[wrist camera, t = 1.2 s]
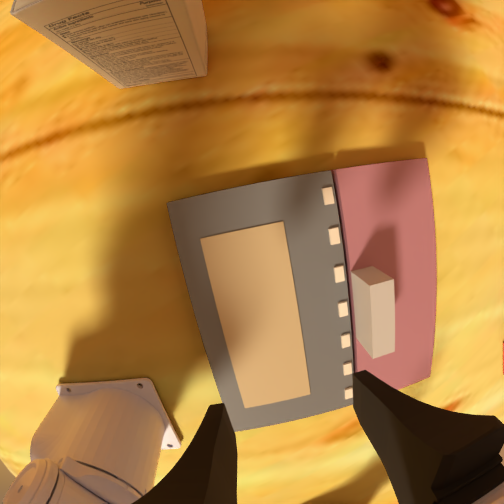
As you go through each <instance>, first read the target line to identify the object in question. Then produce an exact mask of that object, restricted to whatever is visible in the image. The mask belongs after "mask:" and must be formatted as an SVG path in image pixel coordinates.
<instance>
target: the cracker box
mask: <svg viewBox="0 0 504 504" xmlns="http://www.w3.org/2000/svg"><path fill="white" fill-rule="evenodd" d="M503 374H504V342H503Z"/></svg>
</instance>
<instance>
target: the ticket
mask: <svg viewBox="0 0 504 504" xmlns="http://www.w3.org/2000/svg"><path fill="white" fill-rule="evenodd" d="M167 207H168V211H169V216H170V220H171V224H172V229H173V233H174V237H175V241H176V245H177V249H178V253H179V257H180V261H181V265H182V269H183V273H184V277H185V281H186V284H187V288H188V292H189V295H190V299H191V303H192V306H193V310H194V313H195V317H196V320H197V324H198V327H199V330H200V334H201V337H202V341H203V344H204V347H205V350H206V354H207V357H208V360H209V363H210V366H211V369H212V373H213V376H214V379H215V382H216V385H217V388H218V391H219V394H220V397H221V400H222V403H224V404H225V407H226V410H227V412H228V415H229V418H230V421H231V424H232V427H233V429H234V432H236V431H243V430H249V429H254V428H260V427H265V426H270V425H275V424H280V423H285V422H289V421H293V420H298V419H302V418H306V417H310V416H314V415H318V414H322V413H325V412H329V411H332V410H336V409H339V408H343V407H346V406H349V405H353V379H352V374H353V373H354V371H353V350H352V334H351V321H350V308H349V297H348V287H347V277H346V268H345V260H344V251H343V244H342V236H341V229H340V222H339V215H338V209H337V202H336V196H335V190H334V184H333V178H332V173H331V170H330V171H322V172H316V173H310V174H304V175H298V176H292V177H286V178H281V179H275V180H270V181H265V182H260V183H254V184H249V185H244V186H239V187H235V188H230V189H225V190H220V191H216V192H211V193H206V194H202V195H197V196H193V197H189V198H184V199H180V200H176V201H172V202H168V203H167Z"/></svg>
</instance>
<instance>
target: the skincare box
mask: <svg viewBox="0 0 504 504" xmlns="http://www.w3.org/2000/svg"><path fill="white" fill-rule="evenodd" d="M10 13H11V15H13V16H14V17H16V18H17V19H19V20H20V21H22V22H24V23H25V24H27V25H28V26H30V27H31V28H33V29H34V30H36V31H37V32H39V33H40V34H42V35H43V36H45V37H46V38H48V39H49V40H51V41H52V42H54V43H55V44H57V45H58V46H60V47H61V48H63V49H64V50H65V51H67V52H68V53H70V54H71V55H73V56H74V57H76V58H77V59H78V60H80V61H81V62H83V63H84V64H86V65H87V66H88V67H90V68H91V69H93V70H94V71H95V72H97V73H98V74H100V75H101V76H102V77H104V78H105V79H106V80H108V81H109V82H111V83H112V84H113V85H115V86H116V87H117V88H119V89H122V88H128V87H134V86H141V85H147V84H154V83H160V82H166V81H173V80H180V79H187V78H194V77H202V76H206V75H207V64H208V43H207V25H206V20H205V15H204V10H203V4H202V0H14V2H13V5H12V8H11V11H10Z"/></svg>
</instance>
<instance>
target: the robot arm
mask: <svg viewBox="0 0 504 504" xmlns="http://www.w3.org/2000/svg"><path fill="white" fill-rule="evenodd" d="M352 379H353V407H354V410H355V412H356V415H357V417H358V420H359V422H360V425H361V426H362V428H363V430H364V432H365V433H366V435H367V437H368V438H369V440H370V442H371V443H372V445H373V447H374V449H375V450H376V452H377V454H378V455H379V457H380V459H381V461H382V463H383V465H384V467H385V469H386V471H387V474H388V476H389V479H390V481H391V484H392V486H393V489H394V491H395V494H396V497H397V499H398V502H399V504H504V466H503V465H502V464H501V462H502V460H503V459H502V457H501V456H500V455H499V452H500V450H501V448H502V446H503V444H504V424H503V423H502V422H501V421H500V420H499V419H498V418H496V417H495V416H488V415H471V414H463V413H457V412H452V411H448V410H444V409H441V408H437V407H434V406H431V405H428V404H426V403H423V402H421V401H418V400H416V399H414V398H412V397H410V396H408V395H406V394H404V393H402V392H400V391H398V390H397V389H395V388H393V387H391V386H390V385H388V384H387V383H385V382H384V381H382V380H380V379H379V378H377V377H376V376H374V375H373V374H371V373H370V372H368V371H367V370H362V371H359V372H356V373H353V374H352ZM138 383H140V384H142V385H143V386H140V385H139V384H138ZM69 388H70V389H71V390H70V389H69ZM56 390H57V392H58V394H59V397H58V399H57V400H56V402H55V403H54V405H53V406H52V408H51V409H50V411H49V412H48V414H47V415H46V417H45V418H44V420H43V421H42V423H41V424H40V426H39V427H38V429H37V430H36V432H35V434H34V436H33V438H32V441H31V448H30V457H31V462H30V463H29V464H28V465H27V466H26V467H25V468H24V469H23V470H22V471H21V472H20V473H19V475H18V476H17V477H16V479H15V480H14V481H13V483H12V484H11V486H10V488H9V489H8V491H7V493H6V495H5V497H4V499H3V502H2V504H237V445H236V437H235V432H234V429H233V427H232V424H231V421H230V418H229V415H228V412H227V410H226V407H225V404H224V403H221V404H214V405H210V406H209V407H208V410H207V412H206V414H205V417H204V419H203V421H202V423H201V425H200V427H199V429H198V431H197V433H196V434H195V436H194V438H193V440H192V441H191V443H190V445H189V446H188V448H187V449H186V451H185V452H184V454H183V455H182V457H181V458H180V459H179V461H178V462H177V463H176V465H175V466H174V467H173V468H172V469H171V471H170V472H169V473H168V474H167V475H166V476H165V477H164V478H163V479H162V480H161V481H160V482H159V483H158V484H157V485H156V486H155V487H153V486H154V480H155V475H156V470H157V465H158V460H159V456H160V451H161V449H177V448H180V447H181V441H180V439H179V437H178V436H177V434H176V432H175V430H174V428H173V426H172V424H171V421H170V419H169V417H168V415H167V413H166V411H165V409H164V407H163V405H162V402H161V400H160V398H159V396H158V394H157V391H156V389H155V387H154V384H153V382H152V381H151V380H150V379H148V378H137V379H127V380H116V381H103V382H87V383H64V384H58V385H57V386H56ZM171 444H172V445H171Z"/></svg>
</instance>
